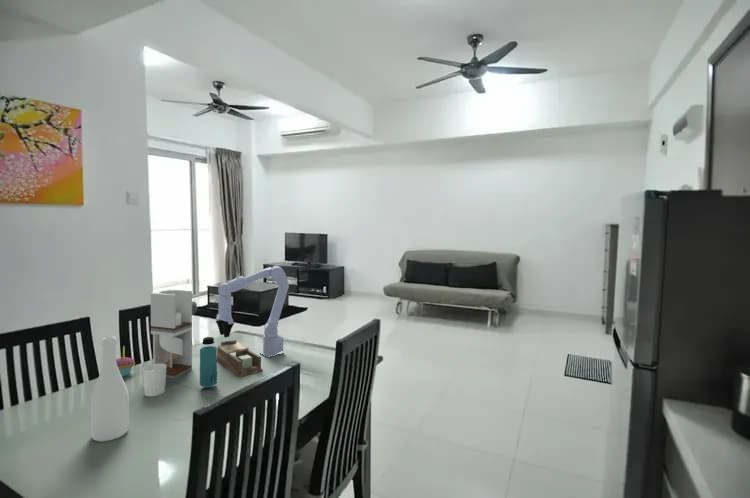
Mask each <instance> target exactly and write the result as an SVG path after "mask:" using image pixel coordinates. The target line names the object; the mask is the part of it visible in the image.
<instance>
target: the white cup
mask: <svg viewBox="0 0 750 498" xmlns="http://www.w3.org/2000/svg"><path fill="white" fill-rule="evenodd" d="M166 380H167V378H166V364H162V363H157V364H153V363H150V364H148V365H144V366H143V367H142V383H143V390H144V396H147V397H157V396H160V395H162V394H164V393H165V391H166Z"/></svg>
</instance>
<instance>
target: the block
mask: <svg viewBox="0 0 750 498" xmlns="http://www.w3.org/2000/svg"><path fill="white" fill-rule="evenodd" d="M238 360H240V361H242V369H241V370H243V369H247V368H251V367H252V357H251V356H249V355H244V356H239V357H238Z"/></svg>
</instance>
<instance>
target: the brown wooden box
mask: <svg viewBox="0 0 750 498" xmlns="http://www.w3.org/2000/svg"><path fill="white" fill-rule="evenodd" d="M216 348H217V364H219V365H221V366H222V367H223V368H225V369H226V370H228V371H229V372H230V373H232V374H233V375H234V376H236V377H237V378H241V377H244V376H248V375H252V374H255V373H256V374H257V373H260V372H263V370H264V369H263V368H262V356H261V355H260V354H256V353H255V352H253V351H251V350H250V349H248V350H243V351H239V352H235V354H234V355H232V354H231V353H229V354H227V353H225V352H224V351H222V350H221V349H219V348H218V347H216ZM244 355H249V356H251V357H252V367H251V368H247V369H243V370H241V369H242V361H240V360H238V357H239V356H244ZM259 371H260V372H259Z"/></svg>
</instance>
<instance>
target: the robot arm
mask: <svg viewBox="0 0 750 498" xmlns="http://www.w3.org/2000/svg"><path fill="white" fill-rule="evenodd" d="M263 278H264V279H269V280H270V278H271V279H272V280H273V281H275V282H276V284H277V285H278V288H277V291H276V295H275V299H274V302H273V305H272V309H271V311H270V315H269V318H268V320H267V321H266V323H265V324H264V327H263V329H264V332H263V333H264V334H263V335H262V337H263V339H262V351H261V352H262V353H261V352H260V351H259V354H260V353H261V354H260V355H262V354H263V355H264V356H263V355H262V356H263V357H265V356H266V357H265V358H270V357H269V356H271V355H275V354H277V353H279V352H281V351H283V352H284V338H283V336H282V335H281V334H278V333H279V332H278V326H279V320H280V317H281V314H282V310H283V308H284V304H285V301H286V298H287V293H288V290H289V287H290V283H289V280H288V278H287V274H286V272H285V270H284V269H283V268H282V267H281V266H280V265H273V266H270V267H269V266H268V267H266V268H264V269H260V270H259V271H257V272H254V273H253V274H250V275H247V276H243V275H241V276H240V275H237V276H236V277H235V278H234V279H231V280H226V282H222V283H221V284H220V285H219V287H218V289H217V292H218V313H217V314H216V317H215V323H216V325H217V327H218V331H219V335H220V336H223V337H224V338H228V337H230V336H231V335H230V334H231V331H232V328H233V326H234V325H235V322H234V319H233V317H232V296H231V295H232V293H234V292H238V291H240V290H243V289H244V288H247V286H248V284H250V283H252V282H255V281H259V280H260V279H263Z"/></svg>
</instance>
